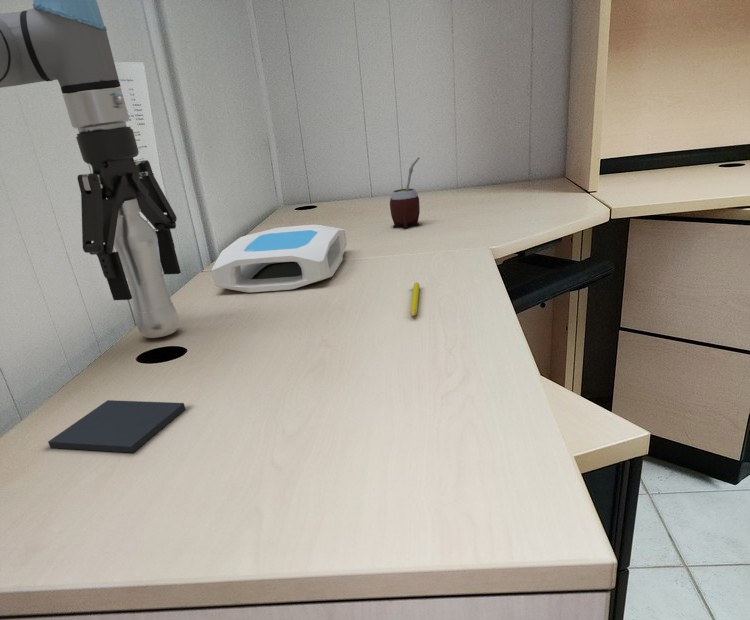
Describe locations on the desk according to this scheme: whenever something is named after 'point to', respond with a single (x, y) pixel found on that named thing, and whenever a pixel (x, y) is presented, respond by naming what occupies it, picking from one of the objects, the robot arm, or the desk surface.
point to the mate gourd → (405, 205)
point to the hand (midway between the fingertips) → (149, 286)
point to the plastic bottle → (144, 273)
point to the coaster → (117, 426)
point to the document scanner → (280, 257)
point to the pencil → (414, 299)
